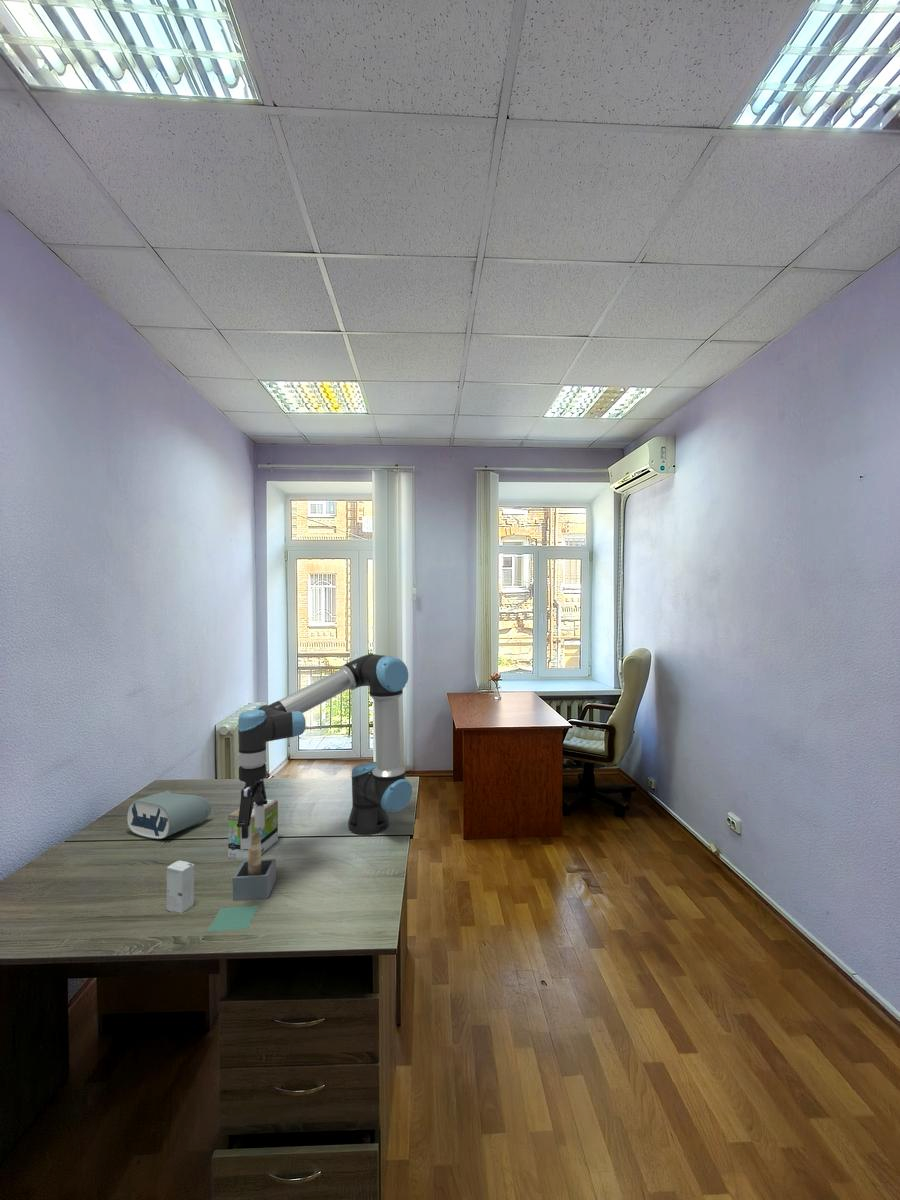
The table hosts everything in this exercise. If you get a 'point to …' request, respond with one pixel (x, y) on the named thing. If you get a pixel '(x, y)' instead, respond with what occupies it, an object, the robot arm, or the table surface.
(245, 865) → the pen cup
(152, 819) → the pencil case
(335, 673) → the robot arm
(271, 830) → the tea box
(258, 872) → the dowel
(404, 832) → the table surface
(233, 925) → the mat
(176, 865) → the skincare box
